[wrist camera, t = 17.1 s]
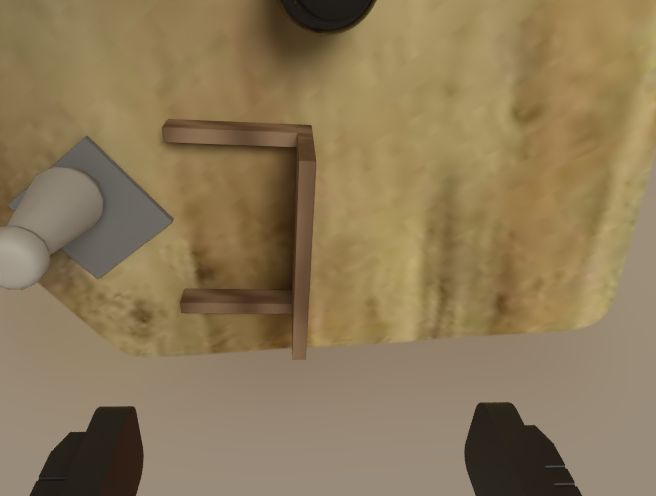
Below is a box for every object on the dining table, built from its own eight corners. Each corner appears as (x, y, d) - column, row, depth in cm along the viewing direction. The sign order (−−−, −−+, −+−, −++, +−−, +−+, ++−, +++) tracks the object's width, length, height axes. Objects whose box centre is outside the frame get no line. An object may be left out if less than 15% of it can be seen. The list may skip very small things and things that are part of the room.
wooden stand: (185, 298, 51) (166, 359, 43) (168, 119, 42) (140, 155, 34) (303, 299, 52) (305, 359, 44) (311, 125, 43) (316, 161, 35)
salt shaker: (69, 228, 45) (-4, 316, 34) (26, 174, 42) (-68, 250, 31) (124, 204, 44) (69, 286, 33) (85, 147, 42) (9, 216, 30)
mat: (10, 202, 44) (7, 205, 44) (87, 135, 42) (84, 137, 41) (99, 275, 49) (97, 279, 48) (173, 219, 46) (172, 221, 46)
